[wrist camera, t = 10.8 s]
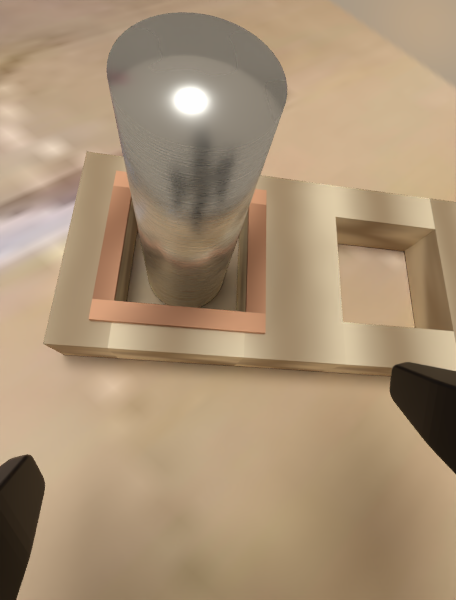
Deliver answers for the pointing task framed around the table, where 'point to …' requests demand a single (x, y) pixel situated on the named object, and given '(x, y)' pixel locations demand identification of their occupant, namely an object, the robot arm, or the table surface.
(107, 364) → the table surface
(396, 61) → the table surface
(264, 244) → the socket board
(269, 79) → the silver metal cylinder
